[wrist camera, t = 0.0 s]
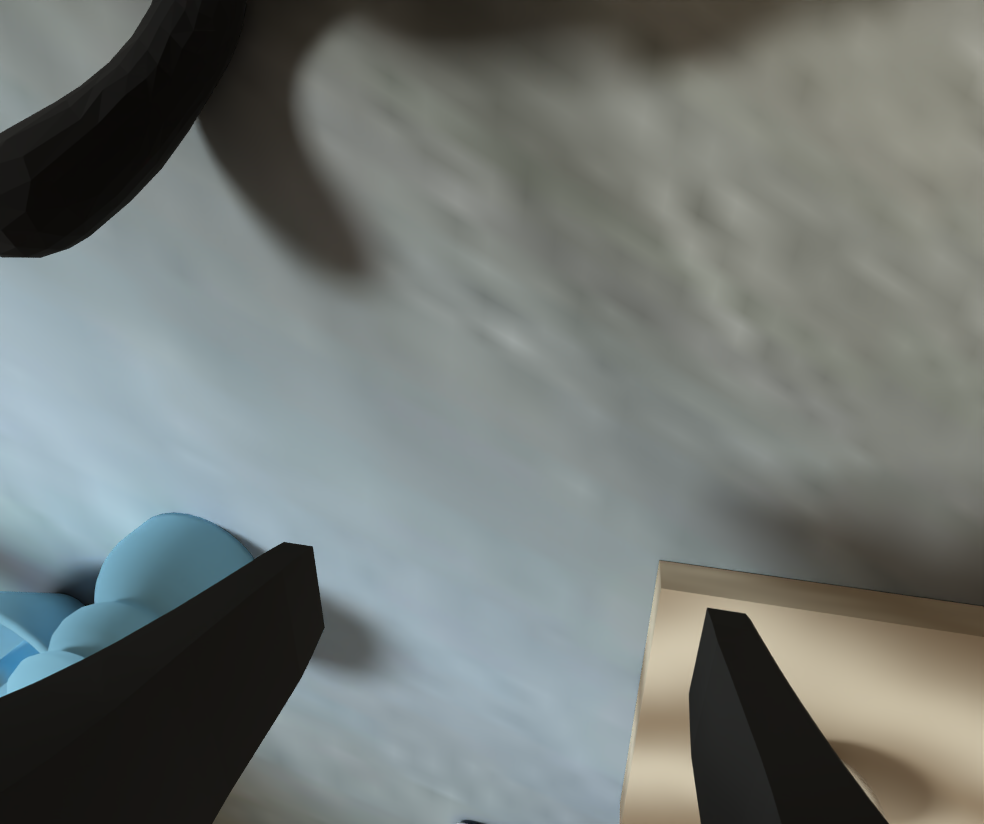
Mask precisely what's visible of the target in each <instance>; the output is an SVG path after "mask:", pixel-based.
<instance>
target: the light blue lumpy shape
mask: <svg viewBox="0 0 984 824" xmlns="http://www.w3.org/2000/svg"><path fill="white" fill-rule="evenodd" d="M253 560H254V558H253V557H252V555H251V554H250V552H249V551H248V550H247V549H246V548H245V547H244V546H243V545H242V544H241V543H240V542H239V541H238V540H237V539H236V538H234V537H233V536H232V535H231V534H230V533H228V532H227V531H225V530H224V529H222V528H221V527H219V526H217V525H216V524H214V523H212V522H209V521H207V520H205V519H203V518H200V517H197V516H193V515H189V514H183V513H165V514H160V515H157V516H154V517H152V518H150V519H149V520H147V521H146V522H144V523H143V524H142V525H141V526H139V527H138V528H137V529H135V530H134V531H133V532H132V533H130V534H129V535H128V536H126V537H125V538H124V539H123V540H121V541H120V542H119V543H118V544H117V545H116V547H115V548H114V549H113V550H112V551H111V553H110V554H109V555H108V557H107V558H106V560H105V562H104V563H103V565H102V567H101V570H100V573H99V576H98V579H97V582H96V587H95V596H94V603H95V604H91V605H88V606H85V605H84V604H82V603H81V602H80V601H79V600H77V599H75V598H74V597H72V596H69V595H66V594H58V593H32V592H7V591H0V697H2V696H5V695H7V694H9V693H12V692H14V691H16V690H19V689H21V688H24V687H26V686H28V685H30V684H33V683H35V682H37V681H39V680H41V679H43V678H46V677H48V676H50V675H52V674H54V673H56V672H58V671H60V670H62V669H64V668H66V667H68V666H70V665H72V664H74V663H76V662H79V661H81V660H83V659H85V658H87V657H88V656H90V655H92V654H94V653H96V652H98V651H100V650H102V649H104V648H106V647H108V646H110V645H111V644H113V643H115V642H117V641H119V640H121V639H122V638H124V637H126V636H128V635H129V634H131V633H133V632H135V631H136V630H138V629H140V628H142V627H143V626H145V625H147V624H149V623H150V622H152V621H154V620H156V619H157V618H159V617H161V616H163V615H164V614H166V613H168V612H170V611H172V610H173V609H175V608H177V607H178V606H180V605H182V604H183V603H185V602H187V601H188V600H190V599H191V598H193V597H195V596H196V595H198V594H200V593H201V592H203V591H204V590H206V589H208V588H209V587H211V586H213V585H214V584H216V583H217V582H219V581H221V580H222V579H224V578H225V577H227V576H229V575H230V574H232V573H233V572H235V571H237V570H238V569H240V568H241V567H243V566H245V565H246V564H248V563H249V562H251V561H253Z"/></svg>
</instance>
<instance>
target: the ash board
mask: <svg viewBox="0 0 984 824" xmlns="http://www.w3.org/2000/svg"><path fill="white" fill-rule="evenodd" d="M707 608H714V609H720V610H727V611H733V612H740V613H746V615H747V616H748V617H749V618H750V619H751V621H752V623H753V624H754V626H755V628H756V629H757V631H758V633H759V635H760V636H761V638H762V640H763V641H764V643H765V645H766V647H767V648H768V650H769V652H770V653H771V655H772V657H773V658H774V660H775V661H776V663H777V665H778V666H779V668H780V670H781V671H782V673H783V674H784V676H785V678H786V679H787V681H788V682H789V684H790V686H791V687H792V689H793V690H794V692H795V693H796V695H797V696H798V698H799V699H800V701H801V703H802V704H803V706H804V707H805V708H806V710H807V711H808V713H809V714H810V716H811V717H812V719H813V720H814V722H815V723H816V725H817V726H818V728H819V729H820V731H821V732H822V734H823V735H824V736H825V738H826V739H827V741H828V742H829V744H830V745H831V747H832V748H833V749H834V751H835V752H836V754H837V755H838V756H839V758H840V759H841V760H843V761H844V762H846V763H847V764H848V765H850V766H851V767H852V768H853V769H855V770H856V771H857V772H858V773H859V774H860V775H861V776H862V777H863V778H864V780H865V781H866V782H867V783H868V785H869V786H870V787H871V788H872V790H873V792H874V793H875V795H876V797H877V799H878V800H879V802H880V805H881V807H882V810H883V812H884V816H885V819H886V820H887V822H888V823H889V824H984V607H983V606H976V605H969V604H962V603H955V602H948V601H941V600H934V599H927V598H920V597H913V596H906V595H899V594H892V593H885V592H878V591H871V590H864V589H857V588H850V587H843V586H836V585H829V584H821V583H814V582H807V581H800V580H793V579H786V578H779V577H772V576H765V575H758V574H751V573H744V572H737V571H730V570H723V569H716V568H709V567H702V566H695V565H688V564H681V563H674V562H667V561H660V560H659V566H658V573H657V579H656V585H655V591H654V597H653V603H652V610H651V616H650V622H649V628H648V634H647V640H646V647H645V653H644V659H643V665H642V671H641V677H640V683H639V690H638V696H637V702H636V708H635V714H634V720H633V727H632V733H631V739H630V745H629V751H628V757H627V764H626V770H625V776H624V782H623V788H622V794H621V801H620V824H701V821H700V815H699V808H698V801H697V794H696V787H695V780H694V774H693V766H692V759H691V744H690V720H689V690H690V685H691V680H692V676H693V671H694V666H695V662H696V657H697V652H698V648H699V643H700V638H701V634H702V629H703V624H704V620H705V615H706V610H707Z"/></svg>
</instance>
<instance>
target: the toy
mask: <svg viewBox="0 0 984 824" xmlns="http://www.w3.org/2000/svg"><path fill="white" fill-rule="evenodd" d="M246 1H247V0H152V4H151V6H150V8H149V9H148V11H147V13H146V14H145V16H144V18H143V19H142V21H141V22H140V24H139V26H138V27H137V29H136V31H135V32H134V34H133V36H132V37H131V38H130V39H129V40H128V42H127V43H126V44H125V45H124V46H123V47H122V48H121V49H120V51H119V52H118V53H117V54H116V55H115V56H114V57H113V58H112V60H111V61H110V62H109V63H108V64H107V65H105V66H104V67H103V68H102V69H100V70H99V71H98V72H97V73H96V74H94V75H93V76H92V77H91V78H90V79H88V80H87V81H86V82H85V83H83V84H82V85H81V86H80V87H78V88H76V89H75V90H73V91H72V92H70V93H69V94H67V95H66V96H64V97H62V98H61V99H59V100H58V101H56V102H55V103H53V104H51V105H49V106H47V107H46V108H44V109H42V110H40V111H39V112H37V113H35V114H33V115H31V116H30V117H28V118H26V119H24V120H23V121H21V122H19V123H17V124H16V125H14V126H12V127H10V128H8V129H7V130H5V131H3V132H2V133H0V257H28V258H41V257H44V256H47V255H50V254H53V253H56V252H59V251H63V250H66V249H69V248H71V247H72V246H74V245H76V244H77V243H79V242H81V241H83V240H84V239H86V238H88V237H89V236H91V235H92V234H93V233H94V232H95V231H96V230H98V229H99V228H100V227H101V226H102V225H103V224H105V223H106V222H107V221H108V220H109V219H110V218H112V217H113V216H114V215H115V214H116V213H117V212H119V211H120V210H121V209H122V208H123V207H124V206H126V205H127V204H128V203H129V202H130V201H131V200H132V199H133V198H134V197H135V196H136V195H137V194H138V193H139V192H140V191H141V190H142V189H143V188H144V187H145V186H146V185H147V184H148V183H149V181H150V180H151V179H152V178H153V177H154V176H155V175H156V174H157V173H158V172H159V171H160V170H161V169H162V168H163V166H164V165H165V163H166V162H167V161H168V159H169V158H170V156H171V155H172V154H173V152H174V151H175V150H176V148H177V147H178V145H179V144H180V143H181V141H182V140H183V138H184V137H185V136H186V134H187V133H188V132H189V130H190V128H191V127H192V125H193V123H194V122H195V120H196V118H197V117H198V115H199V113H200V111H201V110H202V108H203V106H204V105H205V103H206V101H207V100H208V98H209V96H210V95H211V93H212V91H213V89H214V88H215V86H216V84H217V83H218V81H219V79H220V78H221V76H222V74H223V73H224V71H225V69H226V67H227V66H228V64H229V61H230V59H231V57H232V55H233V52H234V50H235V48H236V45H237V41H238V38H239V35H240V32H241V28H242V24H243V18H244V13H245V7H246Z"/></svg>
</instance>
